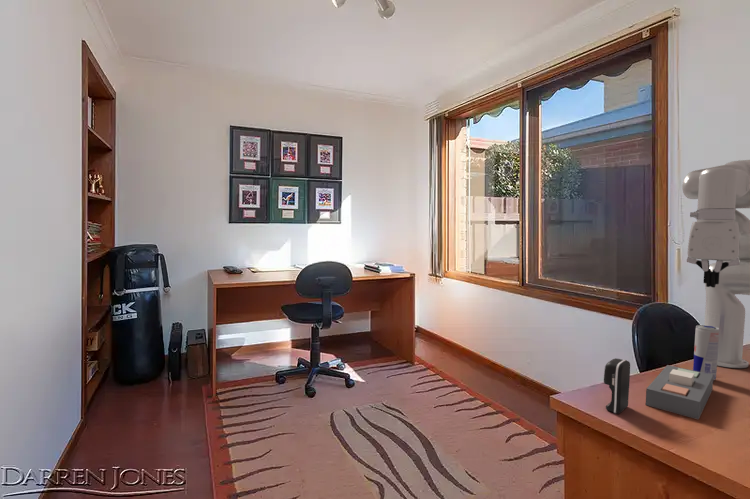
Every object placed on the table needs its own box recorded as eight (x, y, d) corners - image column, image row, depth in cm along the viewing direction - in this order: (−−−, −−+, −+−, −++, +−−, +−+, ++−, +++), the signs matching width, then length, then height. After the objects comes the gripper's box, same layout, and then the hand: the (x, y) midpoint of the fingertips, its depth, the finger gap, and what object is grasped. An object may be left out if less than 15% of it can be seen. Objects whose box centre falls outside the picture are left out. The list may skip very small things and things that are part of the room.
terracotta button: (665, 396, 99) (666, 383, 99) (687, 402, 96) (688, 388, 96) (661, 401, 96) (662, 388, 96) (684, 407, 93) (685, 394, 93)
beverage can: (707, 376, 117) (710, 324, 116) (720, 383, 112) (724, 329, 111) (688, 375, 117) (691, 323, 116) (700, 382, 112) (704, 328, 111)
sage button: (677, 379, 111) (678, 367, 111) (698, 384, 108) (698, 372, 107) (674, 383, 108) (675, 371, 107) (695, 388, 104) (696, 376, 104)
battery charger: (611, 401, 99) (613, 355, 98) (628, 406, 96) (631, 359, 95) (600, 409, 94) (602, 361, 94) (618, 415, 92) (621, 365, 91)
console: (666, 378, 114) (667, 365, 114) (712, 389, 107) (713, 374, 107) (645, 404, 97) (646, 388, 97) (698, 419, 90) (699, 401, 90)
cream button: (672, 381, 105) (673, 369, 105) (693, 386, 102) (694, 373, 102) (668, 385, 102) (669, 373, 102) (690, 391, 99) (691, 378, 99)
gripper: (677, 216, 108) (673, 284, 109) (753, 216, 98) (748, 291, 99) (682, 216, 113) (678, 282, 115) (755, 216, 103) (750, 288, 104)
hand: (710, 286), depth 107 cm, fingers closed
